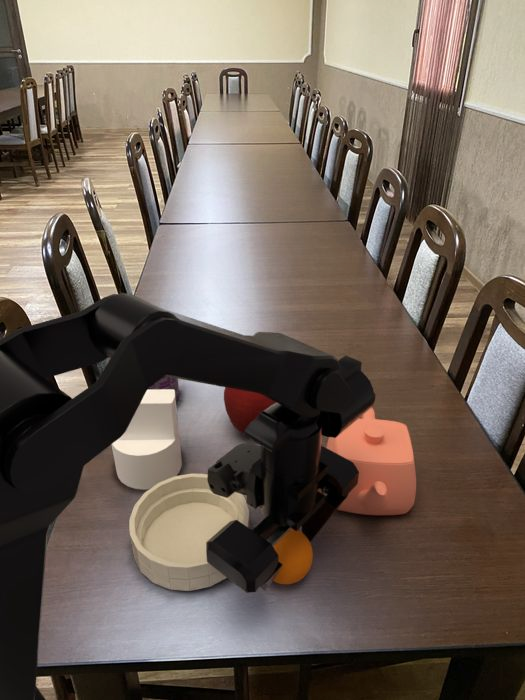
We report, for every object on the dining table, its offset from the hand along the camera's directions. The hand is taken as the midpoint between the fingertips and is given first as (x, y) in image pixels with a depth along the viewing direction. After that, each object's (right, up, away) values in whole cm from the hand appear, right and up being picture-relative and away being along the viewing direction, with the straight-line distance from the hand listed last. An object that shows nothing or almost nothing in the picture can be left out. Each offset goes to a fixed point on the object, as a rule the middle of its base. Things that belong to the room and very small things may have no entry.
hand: (285, 562), depth 60 cm
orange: (0, -1, +1) cm, 2 cm away
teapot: (+11, +5, +11) cm, 16 cm away
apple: (-4, +12, +22) cm, 26 cm away
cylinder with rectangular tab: (-18, +7, +15) cm, 25 cm away
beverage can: (-20, +15, +29) cm, 38 cm away
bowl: (-11, +1, +4) cm, 12 cm away
